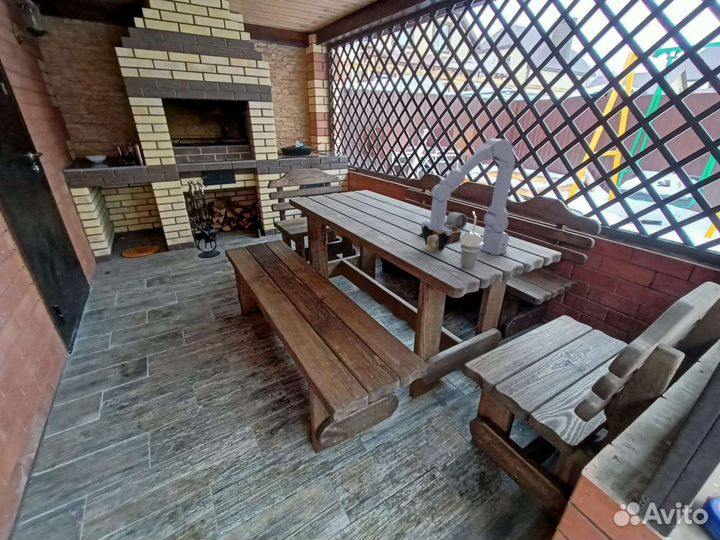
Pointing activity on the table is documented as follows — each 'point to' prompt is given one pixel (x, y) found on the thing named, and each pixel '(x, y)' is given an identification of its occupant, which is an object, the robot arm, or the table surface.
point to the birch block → (433, 244)
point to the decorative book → (454, 236)
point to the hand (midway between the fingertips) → (434, 247)
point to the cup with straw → (470, 247)
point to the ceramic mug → (456, 220)
